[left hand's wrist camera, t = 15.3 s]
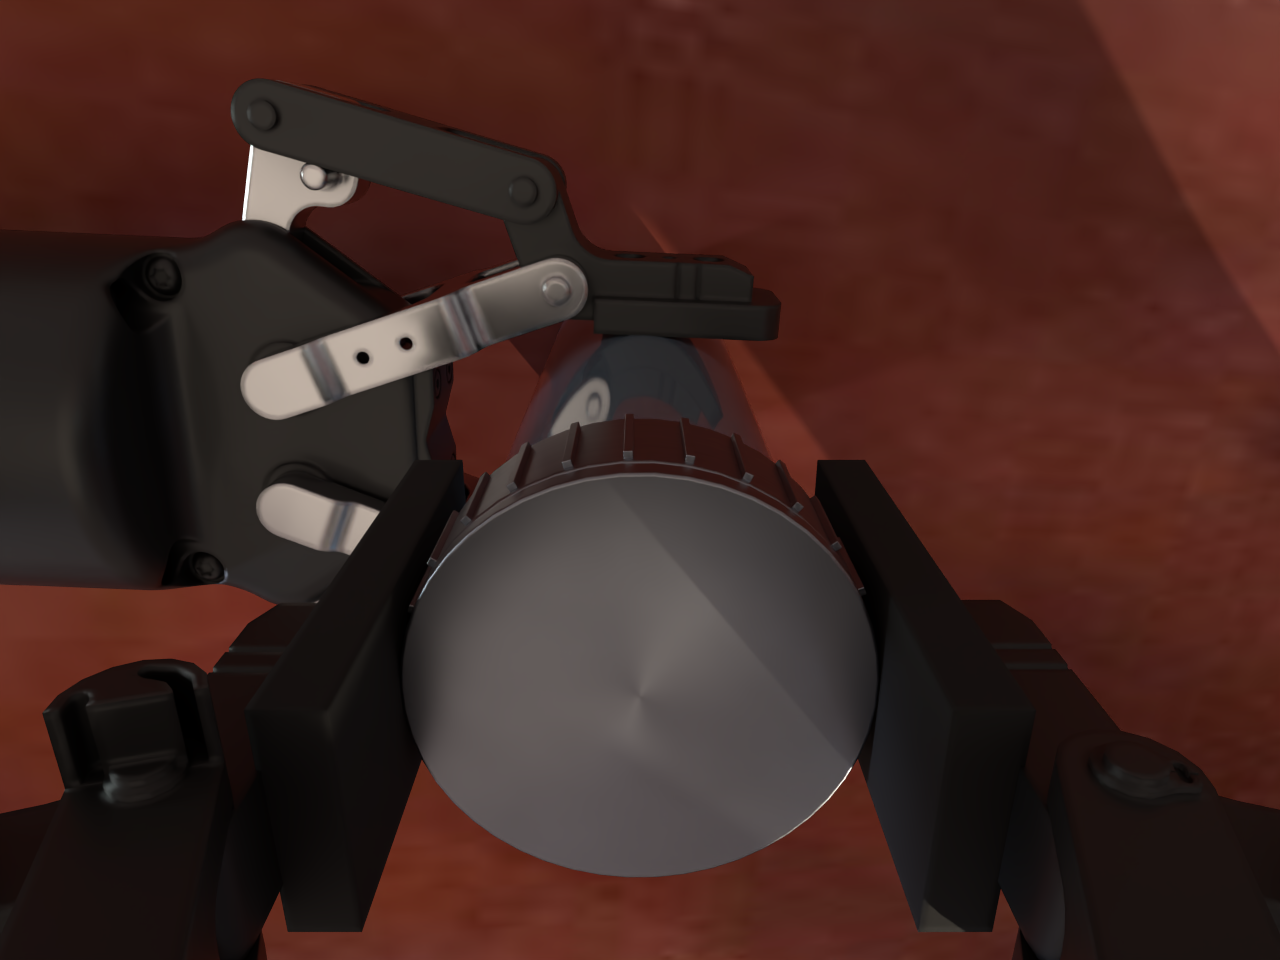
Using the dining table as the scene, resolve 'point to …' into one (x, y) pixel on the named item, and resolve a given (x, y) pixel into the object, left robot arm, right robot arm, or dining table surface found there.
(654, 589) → the lid
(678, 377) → the jar
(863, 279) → the dining table surface
